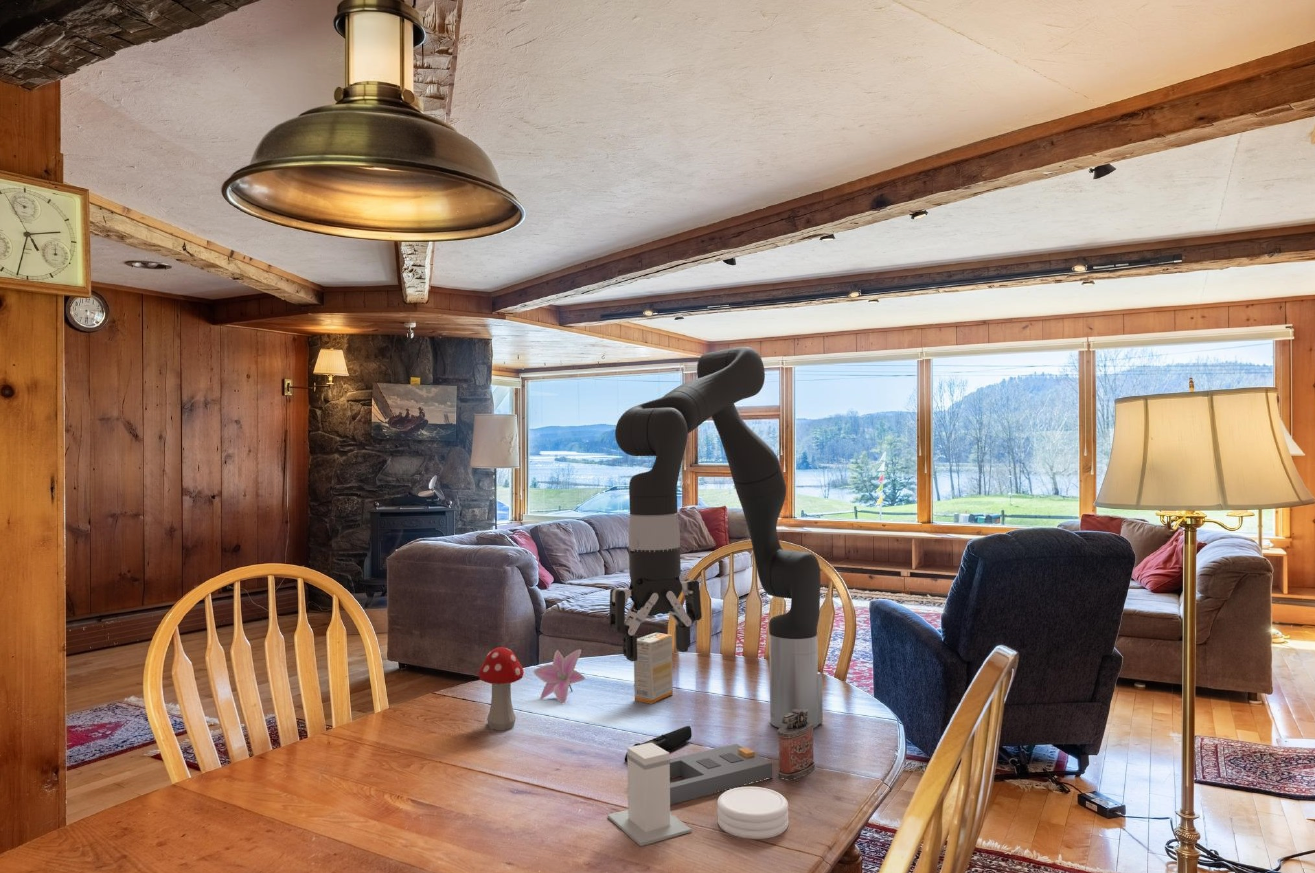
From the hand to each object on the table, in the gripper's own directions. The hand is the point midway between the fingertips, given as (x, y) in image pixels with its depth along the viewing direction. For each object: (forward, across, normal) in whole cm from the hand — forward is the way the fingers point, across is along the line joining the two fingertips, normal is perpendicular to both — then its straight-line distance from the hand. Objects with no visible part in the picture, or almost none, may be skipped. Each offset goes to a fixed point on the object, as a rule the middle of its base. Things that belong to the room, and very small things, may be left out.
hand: (657, 655), depth 118 cm
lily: (+24, -10, -61) cm, 67 cm away
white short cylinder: (+24, -10, +10) cm, 27 cm away
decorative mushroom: (+23, +7, -50) cm, 55 cm away
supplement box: (+24, -27, -50) cm, 61 cm away
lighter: (+24, -27, -2) cm, 36 cm away
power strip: (+23, -12, -7) cm, 27 cm away
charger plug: (+22, +3, +2) cm, 23 cm away
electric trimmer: (+24, -12, -22) cm, 34 cm away
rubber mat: (+23, +3, +2) cm, 23 cm away
